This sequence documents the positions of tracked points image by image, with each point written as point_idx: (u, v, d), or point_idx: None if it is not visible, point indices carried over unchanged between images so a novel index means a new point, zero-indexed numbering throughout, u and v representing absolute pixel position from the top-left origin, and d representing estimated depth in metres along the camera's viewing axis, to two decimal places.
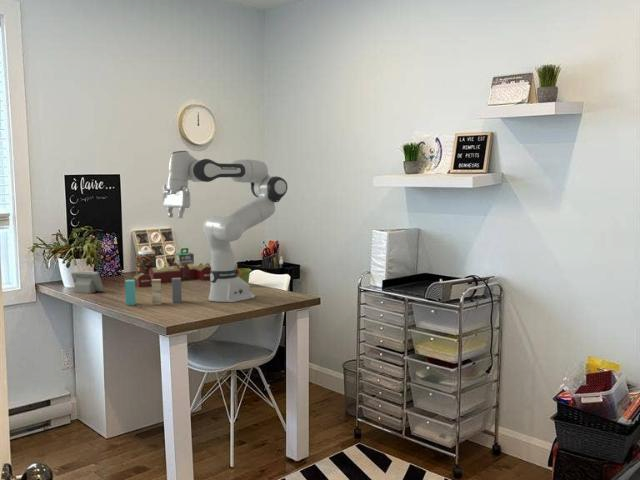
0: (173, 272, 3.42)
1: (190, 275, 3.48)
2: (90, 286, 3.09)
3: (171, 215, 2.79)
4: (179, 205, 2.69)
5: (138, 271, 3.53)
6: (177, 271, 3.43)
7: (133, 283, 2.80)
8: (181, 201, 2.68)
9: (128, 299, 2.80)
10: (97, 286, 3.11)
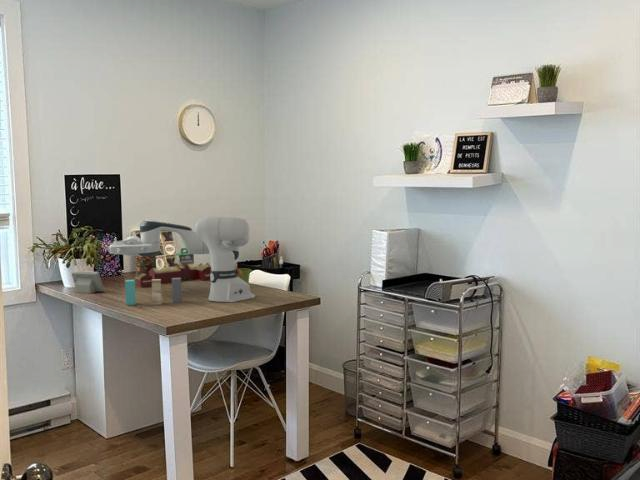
0: (174, 272, 3.41)
1: (191, 275, 3.48)
2: (90, 286, 3.09)
3: (121, 251, 2.93)
4: (145, 245, 2.99)
5: (138, 271, 3.53)
6: (178, 271, 3.42)
7: (133, 283, 2.80)
8: (149, 244, 3.02)
9: (128, 299, 2.80)
10: (97, 286, 3.11)
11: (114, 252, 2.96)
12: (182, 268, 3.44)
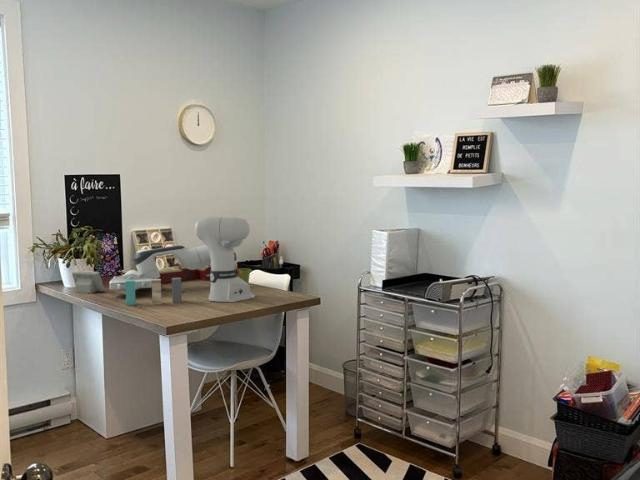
0: (176, 272, 3.40)
1: (192, 275, 3.47)
2: (91, 286, 3.09)
3: (122, 287, 2.93)
4: (145, 280, 3.00)
5: None
6: (179, 271, 3.42)
7: (133, 283, 2.80)
8: (149, 279, 3.02)
9: (128, 299, 2.80)
10: (98, 286, 3.11)
11: (114, 288, 2.96)
12: (183, 268, 3.44)
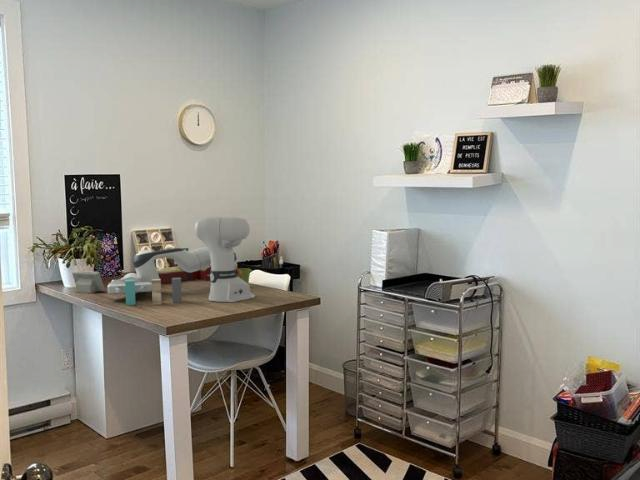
0: (176, 273, 3.40)
1: (192, 275, 3.47)
2: (91, 286, 3.09)
3: (120, 291, 2.84)
4: (145, 284, 2.91)
5: None
6: (180, 272, 3.41)
7: (133, 283, 2.80)
8: (148, 283, 2.94)
9: (128, 299, 2.80)
10: (98, 286, 3.11)
11: (112, 292, 2.87)
12: None
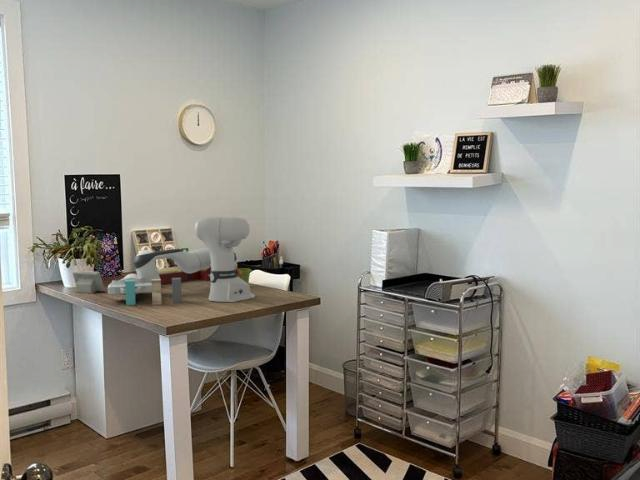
0: (177, 273, 3.39)
1: (193, 275, 3.46)
2: (91, 286, 3.09)
3: (125, 291, 2.82)
4: (145, 284, 2.88)
5: None
6: (181, 272, 3.40)
7: (133, 283, 2.80)
8: (149, 283, 2.90)
9: (128, 299, 2.80)
10: (98, 286, 3.12)
11: (113, 293, 2.84)
12: None
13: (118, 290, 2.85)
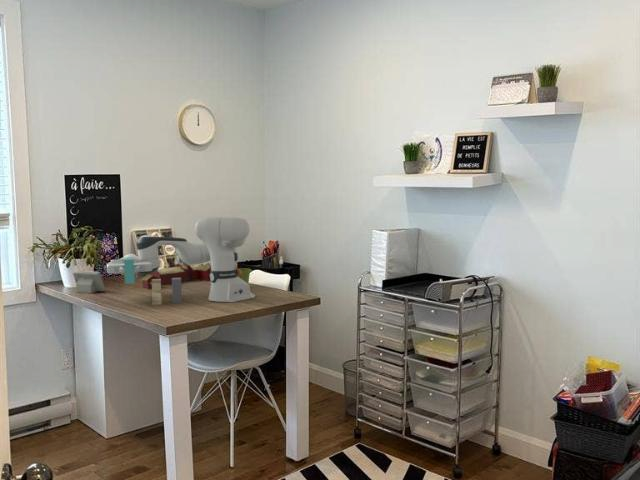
0: (178, 273, 3.38)
1: (193, 276, 3.46)
2: (91, 286, 3.09)
3: (124, 270, 2.80)
4: (144, 263, 2.87)
5: None
6: (181, 272, 3.40)
7: (132, 261, 2.79)
8: (148, 263, 2.89)
9: (127, 277, 2.79)
10: (98, 286, 3.12)
11: (112, 271, 2.82)
12: (185, 269, 3.42)
13: (117, 269, 2.84)
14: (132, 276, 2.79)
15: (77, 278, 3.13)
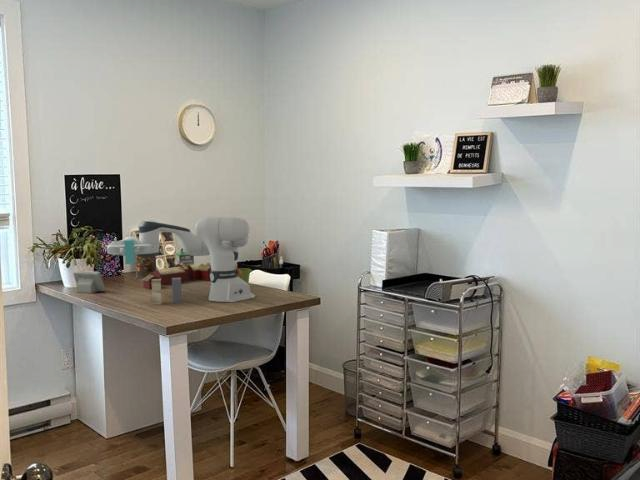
0: (178, 273, 3.38)
1: (194, 276, 3.46)
2: (92, 286, 3.09)
3: (124, 251, 2.86)
4: (144, 245, 2.92)
5: (138, 271, 3.53)
6: (182, 272, 3.39)
7: (132, 242, 2.84)
8: (148, 244, 2.95)
9: (127, 258, 2.85)
10: (98, 286, 3.12)
11: (112, 252, 2.88)
12: (186, 269, 3.42)
13: (117, 250, 2.89)
14: (132, 257, 2.85)
15: (77, 278, 3.13)
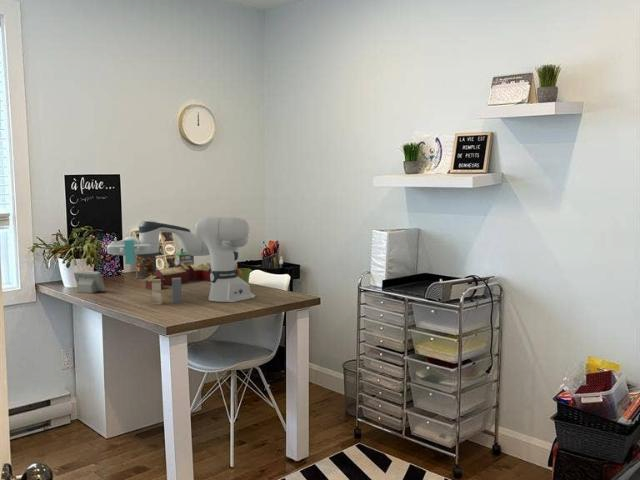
0: (180, 273, 3.37)
1: (195, 276, 3.45)
2: (92, 286, 3.09)
3: (124, 251, 2.86)
4: (144, 245, 2.92)
5: (138, 271, 3.53)
6: (183, 272, 3.38)
7: (132, 242, 2.84)
8: (148, 244, 2.95)
9: (127, 258, 2.85)
10: (99, 286, 3.12)
11: (112, 252, 2.88)
12: (187, 269, 3.41)
13: (117, 250, 2.89)
14: (132, 257, 2.85)
15: (78, 278, 3.14)
